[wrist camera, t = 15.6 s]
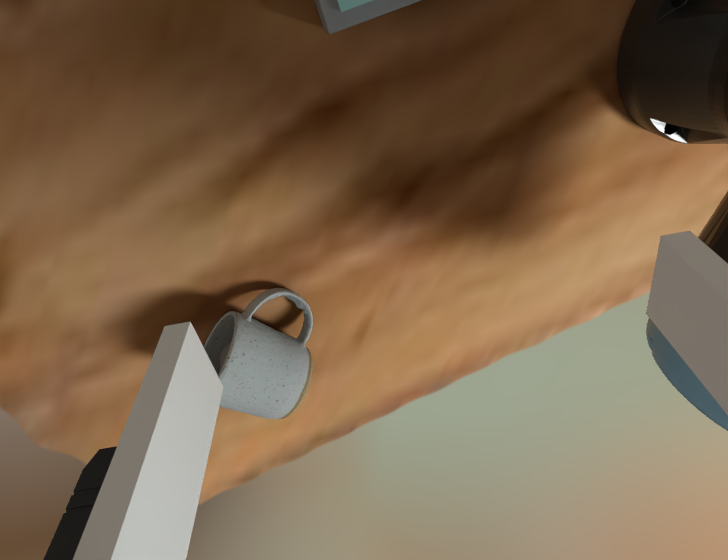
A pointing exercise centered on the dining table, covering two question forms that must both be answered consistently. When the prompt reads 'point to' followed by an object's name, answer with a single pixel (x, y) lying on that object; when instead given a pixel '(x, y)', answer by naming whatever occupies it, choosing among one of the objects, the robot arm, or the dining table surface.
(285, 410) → the ceramic mug
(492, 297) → the dining table surface
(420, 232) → the dining table surface
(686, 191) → the dining table surface
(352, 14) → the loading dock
